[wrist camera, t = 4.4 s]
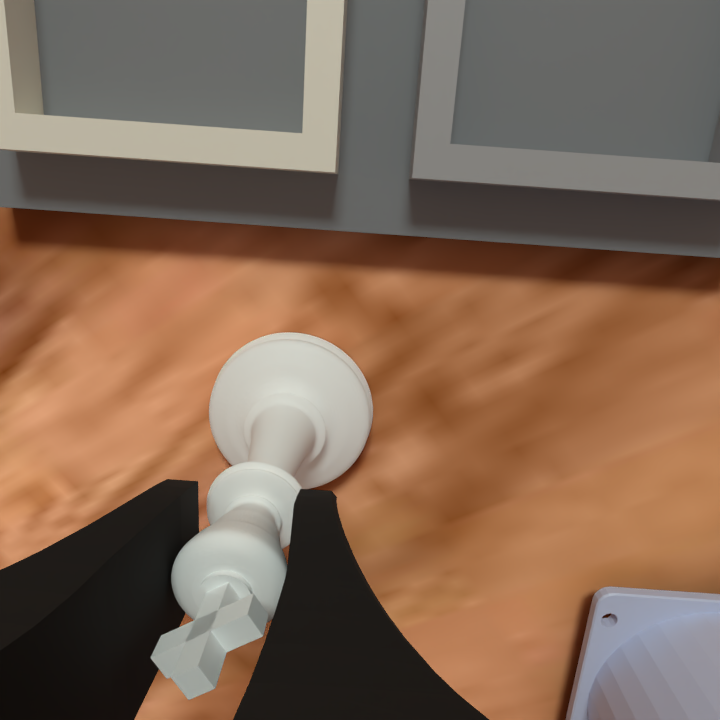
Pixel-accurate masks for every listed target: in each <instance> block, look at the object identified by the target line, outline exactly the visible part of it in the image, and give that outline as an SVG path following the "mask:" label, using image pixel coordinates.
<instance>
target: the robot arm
mask: <svg viewBox="0 0 720 720" xmlns="http://www.w3.org/2000/svg"><path fill="white" fill-rule="evenodd" d="M336 498H337V497H336V496H335V495H334V493H333V492H332V491H324V490H310V489H300V491H299V493H298V495H297V497H296V500H295V502H294V508H293V518H292V528H291V538H290V548H289V558H288V566H287V571H286V577H285V581H284V584H283V587H282V591H281V594H280V597H279V601H278V604H277V607H276V610H275V613H274V616H273V619H272V622H271V625H270V628H269V631H268V634H267V637H266V640H265V643H264V646H263V649H262V651H261V654H260V656H259V659H258V662H257V664H256V667H255V670H254V672H253V675H252V678H251V680H250V683H249V685H248V687H247V690H246V692H245V694H244V696H243V699H242V701H241V703H240V705H239V708H238V710H237V712H236V714H235V717H234V719H233V720H489V719H488V718H486V717H485V716H484V715H483V714H481V713H480V712H479V711H478V710H477V709H475V708H474V707H473V706H472V705H470V704H469V703H468V702H467V701H466V700H464V699H463V698H462V697H461V696H460V695H458V694H457V693H456V692H455V691H454V690H453V689H452V688H451V687H450V686H449V685H448V684H447V683H446V682H445V681H444V680H443V679H442V678H441V677H440V676H439V675H438V674H436V673H435V672H434V670H433V669H432V668H431V667H430V666H429V665H428V664H427V662H426V661H425V660H424V659H423V658H422V657H421V656H420V654H419V653H418V652H417V651H416V650H415V649H414V648H413V647H412V645H411V644H410V643H409V642H408V641H407V640H406V638H405V637H404V636H403V635H402V633H401V632H400V631H399V629H398V628H397V627H396V625H395V624H394V623H393V621H392V620H391V619H390V617H389V616H388V614H387V613H386V611H385V610H384V608H383V607H382V605H381V604H380V602H379V601H378V599H377V598H376V596H375V594H374V593H373V591H372V589H371V588H370V586H369V584H368V582H367V581H366V579H365V577H364V575H363V573H362V571H361V569H360V567H359V565H358V563H357V561H356V559H355V557H354V555H353V553H352V550H351V548H350V545H349V543H348V541H347V538H346V536H345V533H344V530H343V528H342V524H341V521H340V518H339V514H338V510H337V503H336ZM198 533H199V511H198V481H185V480H171V479H167V480H165V481H163V482H161V483H159V484H157V485H155V486H154V487H152V488H150V489H148V490H147V491H145V492H143V493H142V494H140V495H138V496H137V497H135V498H133V499H132V500H130V501H128V502H127V503H125V504H123V505H122V506H120V507H118V508H117V509H115V510H113V511H112V512H110V513H108V514H106V515H105V516H103V517H101V518H100V519H98V520H96V521H95V522H93V523H91V524H90V525H88V526H86V527H84V528H82V529H80V530H79V531H77V532H75V533H73V534H71V535H69V536H67V537H66V538H64V539H62V540H60V541H58V542H56V543H54V544H53V545H51V546H49V547H47V548H45V549H43V550H41V551H40V552H38V553H36V554H34V555H31V556H29V557H27V558H25V559H23V560H21V561H19V562H17V563H15V564H13V565H11V566H8V567H6V568H4V569H2V570H0V720H134V719H135V717H136V714H137V712H138V710H139V708H140V706H141V704H142V702H143V700H144V698H145V696H146V694H147V692H148V690H149V688H150V686H151V684H152V682H153V680H154V678H155V676H156V674H157V672H158V670H159V668H158V667H157V666H156V664H155V663H154V662H153V661H152V659H151V655H152V653H153V651H154V649H155V647H156V645H157V643H158V641H159V639H160V637H161V635H163V634H166V633H168V632H170V631H172V630H174V629H177V628H179V626H180V624H181V622H182V620H183V617H184V615H185V611H184V610H183V609H182V608H181V606H180V605H179V603H178V602H177V600H176V598H175V595H174V592H173V589H172V584H171V573H172V568H173V564H174V561H175V559H176V557H177V555H178V553H179V552H180V550H181V549H182V548H183V547H184V545H185V544H186V543H187V542H188V541H189V540H191V539H192V538H193V537H194V536H195V535H197V534H198ZM610 613H611V615H610V616H609V617H607V618H602V617H603V616H604V615H606V614H610ZM566 720H720V594H709V593H695V592H681V591H666V590H652V589H638V588H624V587H604V588H602V589H599V590H598V591H597V592H596V593H595V594H594V596H593V598H592V603H591V607H590V612H589V616H588V621H587V625H586V630H585V634H584V639H583V643H582V648H581V652H580V657H579V661H578V666H577V670H576V675H575V679H574V684H573V688H572V693H571V697H570V702H569V706H568V711H567V715H566Z"/></svg>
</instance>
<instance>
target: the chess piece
mask: <svg viewBox="0 0 720 720" xmlns="http://www.w3.org/2000/svg"><path fill="white" fill-rule="evenodd" d="M372 419H373V404H372V397H371V393H370V389H369V386H368V384H367V381H366V379H365V377H364V375H363V374H362V372H361V370H360V369H359V367H358V366H357V365H356V364H355V362H354V361H353V360H352V359H351V358H350V357H349V356H348V355H347V354H346V353H344V352H343V351H342V350H341V349H339V348H338V347H336V346H335V345H333V344H331V343H329V342H328V341H325V340H323V339H321V338H318V337H315V336H312V335H308V334H302V333H291V332H286V333H275V334H270V335H266V336H263V337H260V338H258V339H255V340H253V341H251V342H249V343H247V344H246V345H244V346H243V347H241V348H240V349H239V350H237V351H236V352H235V353H234V354H233V355H232V356H231V357H230V358H229V359H228V360H227V362H226V363H225V364H224V366H223V367H222V369H221V371H220V372H219V374H218V377H217V379H216V382H215V385H214V387H213V390H212V394H211V398H210V404H209V420H210V426H211V431H212V434H213V437H214V439H215V442H216V444H217V446H218V448H219V450H220V451H221V453H222V454H223V456H224V457H225V458H226V459H227V461H228V462H229V463H230V464H231V465H232V466H231V467H229V468H228V469H226V470H225V471H223V472H222V473H221V474H220V475H219V476H218V477H217V478H216V479H215V480H214V482H213V483H212V485H211V487H210V489H209V492H208V497H207V516H208V520H209V523H210V526H209V527H207V528H205V529H203V530H202V531H201V532H199V533H198V534H197V535H195V536H194V537H193V538H192V539H191V540H189V541H188V542H187V543H186V544H185V545H184V547H183V548H182V549H181V550H180V552H179V553H178V555H177V557H176V559H175V561H174V564H173V568H172V573H171V584H172V589H173V592H174V595H175V598H176V600H177V602H178V603H179V605H180V606H181V608H182V609H183V610H184V611H185V613H186V614H187V615H188V616H190V617H191V618H192V619H193V620H194V621H192V622H190V623H188V624H185V625H183V626H181V627H179V628H177V629H174V630H172V631H170V632H168V633H166V634H163V635H161V637H160V639H159V641H158V643H157V645H156V647H155V649H154V651H153V653H152V655H151V659H152V661H153V662H154V663H155V664H156V666H157V667H158V668H159V670H160V671H161V672H162V673H163V675H164V676H165V677H166V678H170V677H171V678H172V680H173V681H174V682H175V683H176V685H177V686H178V687H179V688H180V690H181V691H182V692H183V694H184V695H185V696H186V697H187V699H188V700H190V699H192V698H195V697H197V696H199V695H202V694H204V693H206V692H209V691H211V690H213V689H215V688H216V685H217V682H218V678H219V675H220V672H221V669H222V666H223V662H224V659H225V656H226V653H227V652H229V651H231V650H233V649H235V648H238V647H240V646H242V645H245V644H247V643H249V642H251V641H254V640H256V639H258V638H260V637H263V635H264V631H265V627H266V623H268V622H269V621H270V620H272V619H273V616H274V613H275V610H276V607H277V604H278V601H279V597H280V594H281V591H282V587H283V584H284V581H285V577H286V571H287V563H286V559H285V555H284V553H283V550H282V549H283V548H285V547H286V546H288V545H289V544H290V538H291V528H292V518H293V508H294V502H295V500H296V497H297V495H298V493H299V491H300V489H311V488H315V487H318V486H321V485H324V484H326V483H329V482H331V481H332V480H334V479H336V478H337V477H339V476H340V475H342V474H343V473H344V472H345V471H347V470H348V469H349V468H350V467H351V466H352V465H353V463H354V462H355V461H356V460H357V458H358V457H359V455H360V454H361V452H362V450H363V448H364V446H365V444H366V441H367V438H368V436H369V433H370V429H371V425H372Z"/></svg>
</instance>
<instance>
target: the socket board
mask: <svg viewBox="0 0 720 720" xmlns="http://www.w3.org/2000/svg"><path fill="white" fill-rule="evenodd" d="M0 207H10V208H24V209H38V210H52V211H66V212H80V213H94V214H108V215H122V216H136V217H151V218H165V219H179V220H193V221H207V222H221V223H235V224H249V225H263V226H278V227H292V228H306V229H320V230H334V231H348V232H362V233H376V234H390V235H404V236H419V237H433V238H447V239H461V240H475V241H489V242H503V243H517V244H531V245H545V246H560V247H574V248H588V249H602V250H616V251H630V252H644V253H658V254H672V255H687V256H701V257H715V258H720V0H0Z"/></svg>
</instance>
